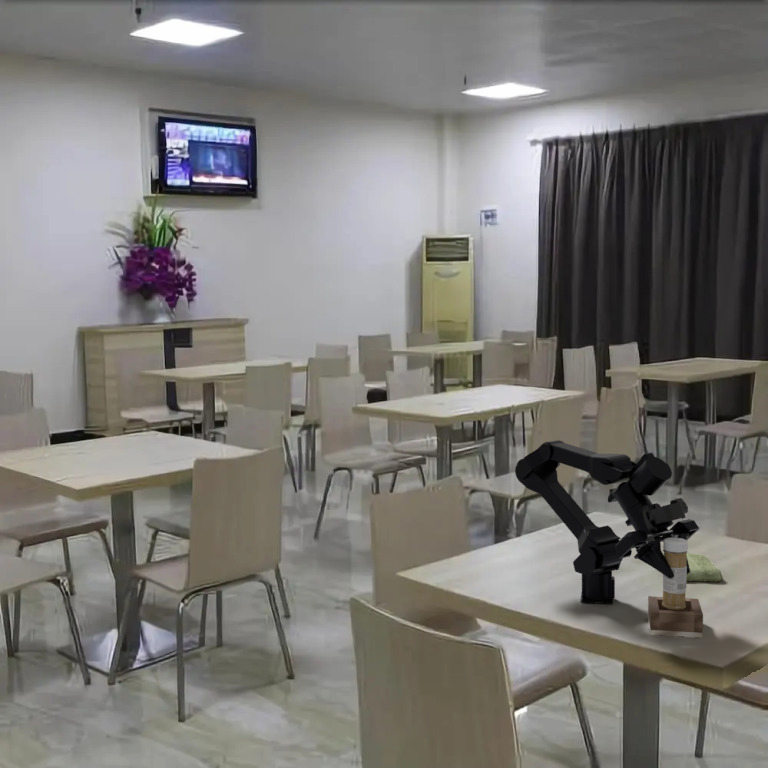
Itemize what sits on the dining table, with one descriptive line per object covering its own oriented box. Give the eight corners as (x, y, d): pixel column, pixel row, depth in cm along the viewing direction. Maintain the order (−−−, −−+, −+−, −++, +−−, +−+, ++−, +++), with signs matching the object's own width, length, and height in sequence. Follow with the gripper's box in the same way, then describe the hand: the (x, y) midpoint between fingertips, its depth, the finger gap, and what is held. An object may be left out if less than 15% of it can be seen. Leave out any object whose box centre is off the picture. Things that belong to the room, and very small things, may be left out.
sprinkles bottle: (678, 602, 195) (680, 536, 194) (690, 609, 191) (692, 542, 189) (657, 604, 194) (659, 537, 193) (668, 611, 190) (670, 543, 188)
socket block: (650, 634, 189) (650, 612, 189) (648, 617, 199) (648, 596, 198) (702, 637, 187) (703, 615, 187) (697, 620, 196) (698, 598, 196)
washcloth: (705, 562, 238) (706, 549, 237) (725, 584, 220) (725, 570, 220) (650, 561, 239) (650, 548, 238) (665, 584, 221) (665, 570, 221)
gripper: (627, 492, 188) (671, 562, 180) (693, 479, 198) (737, 546, 190) (597, 523, 196) (637, 592, 188) (661, 510, 206) (703, 574, 198)
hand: (680, 575), depth 191 cm, fingers closed on sprinkles bottle, 4 cm apart
